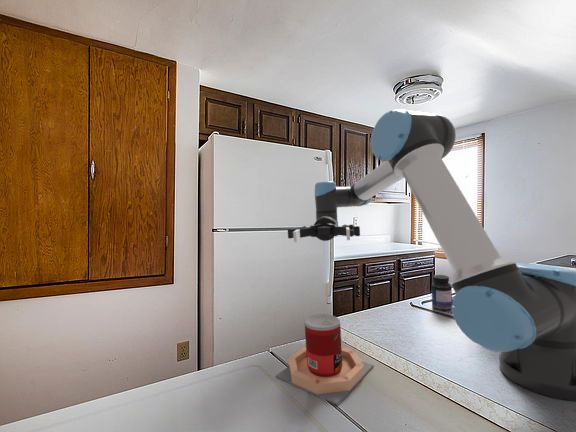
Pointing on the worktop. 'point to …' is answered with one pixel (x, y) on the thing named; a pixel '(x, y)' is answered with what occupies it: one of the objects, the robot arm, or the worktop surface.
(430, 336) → the worktop surface
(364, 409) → the worktop surface
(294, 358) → the bowl
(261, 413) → the worktop surface
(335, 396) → the mat
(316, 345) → the canned food
